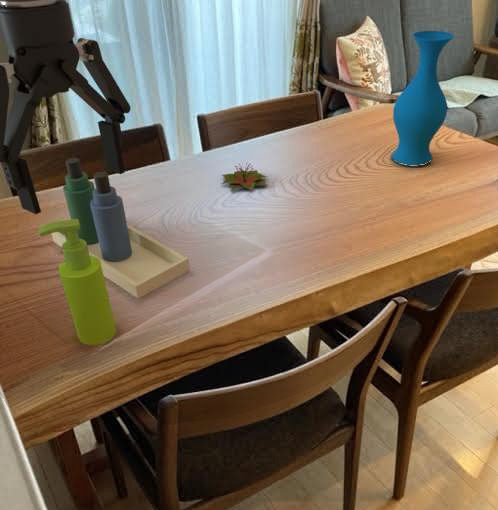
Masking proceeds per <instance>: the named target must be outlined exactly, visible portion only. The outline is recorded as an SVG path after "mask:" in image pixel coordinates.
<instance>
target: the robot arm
mask: <svg viewBox="0 0 498 510" xmlns="http://www.w3.org/2000/svg"><path fill="white" fill-rule="evenodd" d="M75 33H76V32H75V27H74V23H73V19H72V13H71V9H70V4H69V2H67V0H0V37H1V40H2V42H3V44H4V46H5V48H6V50H7V62H0V164H1V168H2V170H3V174H4V177H5V179H6V182H7V185H8V186H9V187H10V188H12V189H14V190H16V193H17V196H18V199H19V201H20V205H21V208H22V209H23V210H25V211H28V212H30V213H31V214H34V215H38V214H40V213H42V210H41V206H40V203H39V200H38V199H39V198H38V196H37V193H36V189H35V186H34V181H33V180H32V179H33V178H32V176H31V172H30V170H29V166H28V162H27V160H26V159H25V158H22V157H20V155H21V152H22V150H23V146H24V143H25V141H26V138H27V135H28V131H29V129H30V126H31V123H32V121H33V118H34V115H35V112H36V109H37V107H39V106H40V105H41V103H42V101H43V98H46V99H49V98H52V97H54V96H55V95H57V94H59V93H60V94H61V93H62V94H65V93H68V92H70V90H71V91H73V93H75V94H76V95H77V96H78V97H79V98H80V99H81V100H82V101H83V102H85V103H86V104H87V105H88V106H89V107H90V108H91V109H92V110H93V111H95V112H96V113H97V114H98V116H100V117H101V118H102V119H104V120H100V121H99V120H98V121H97V125H98V129H99V136H100V140H101V145H102V151H103V155H104V160H105V161H104V162H105V165H106V170H107V171H109V172H113V173H115V174H119V175H122V174H125V173H126V171H125V166H124V161H123V155H122V150H121V146H123V143H124V140H123V133H122V127H121V125H122V124H124V123H125V121H126V115H125V114H129V113H130V112H131V105H130V103H129V102H128V100H127V98H126V97H125V95H124V93H123V90H121V88H120V86H119V84H118V83H117V81H116V79H115V78H114V76H113V75H112V73H111V71H110V69H109V68H108V66H107V64H106V63H105V61H104V59H103V55H102V52H101V48H100V45H99V42H98V41H97V40H94V39H89V38H84V37H79V38H78V39H77V41H76V43H74V38H75ZM79 61H80V62H82V63H83V66H84V67H85V69H86V70H87V72H88V74H89V75H90V76H91V78H92V80H93V82H94V83H95V84H96V86H97V87H98V89H99V91H100V93H99V92H98V91H97V90H96V89H95V88H94V87H93V86H92V85H91V84H90V83H89V80H88V79H87V78H86V77H85V76H84V75H83V74H82V73H81V72H80V71H79V70H77V68H78V65H79ZM12 77H14V78H15V79H16V80H17V81H16V83H15V86H14V89H13V92H12V97H13V100H12V103H11V106H10V108H9V103H10V85H11V84H12V83H13V79H12ZM28 92H29V93H28ZM101 94H102V95H101ZM8 109H9V110H8ZM8 111H9V112H8Z"/></svg>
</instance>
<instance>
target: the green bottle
mask: <svg viewBox="0 0 498 510" xmlns="http://www.w3.org/2000/svg"><path fill="white" fill-rule="evenodd" d="M80 161H81V160H80V158H78V157H70V158H67V159H66V160H65V165H66V169H67V173H68V174H66V175H65V177H64V180H65V185H63V188H62V190H63V194H64V197H65V202H66V206H67V209H68V212H69V217H70V220H72V219H79V224H80V229H77V233H78V237H79V239H83V240H85V241H86V243H87V245H93V244H96V243H99V240H98V236H97V232H96V227H95V223H94V219H93V214H92V210H91V206H90V202H91V200H92V199H94V198H93V193H92V192H93V190H94V189H96V186H95V182H93V181H91V180H89V177H88V174H87V172H85V171H83V170H82V166H81V162H80Z"/></svg>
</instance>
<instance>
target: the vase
mask: <svg viewBox="0 0 498 510" xmlns="http://www.w3.org/2000/svg"><path fill="white" fill-rule="evenodd" d="M454 37H455V36H454V34H452V33H450V32H446V31H441V30H440V31H439V30H422V31H418V32H415V33H413V34H412V38H413V39H414V40H415V41H416V44H417V46H418V49H419V63H418V67H417V70H416V73H415V75H414V77H413V78H412V80H411V81H410V82H409V84H408V85H407V86H406V87H405V89H404V90H402V92H401V93H400V94H399V95H398V97H397V99H396V101H395V103H394V106H393V111H392V117H393V124H394V126H395V129H396V133H397V135H398V136H397V137H398V144H397V148H396V149H395V150H394V151H393V153H392V154H391V156H392V157H391V159H392V158H393V159H394V160H395V161H397V162H399V163H397V162H395V161H394V160H393V159H392V160H393V161H394V162H395V163H396V164H398V165H401V166H405V167H411V168H412V167H413V168H415V167H416V168H417V167H419V166H409V165H420V164H425V163H427V162H429V161H430V160H432V161H433V155H432V153H431V151H430V146H431V142H432V140H433V138H434V137H435V136H436V134H437V133H438V131H439V130H441V127H442V126H443V124H444V122H445V120H446V118H447V114H448V103H447V99H446V96H445V94H444V92H443V90H442V87H441V86H440V83H439V80H438V74H437V67H438V62H439V57H440V55H441V52H442V50H443V49H444V48H445V46H446V45H447V44H448V43H450V41H451V40H452V39H454ZM400 163H403V164H407V165H403V164H400ZM429 164H430V163H428V164H426V165H421V166H420V167H424V166H427V165H429Z"/></svg>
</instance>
